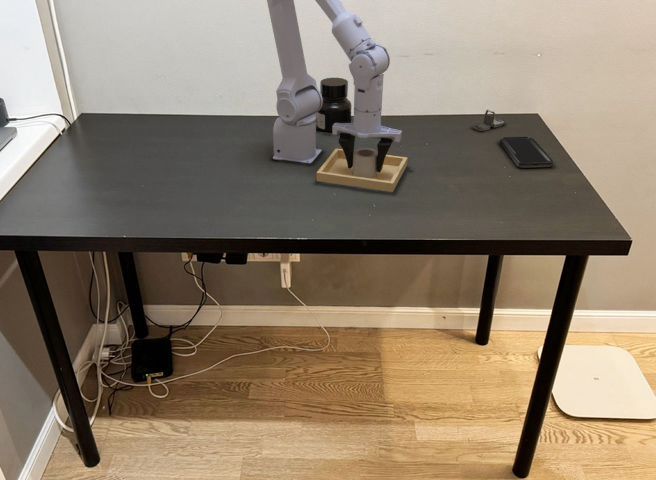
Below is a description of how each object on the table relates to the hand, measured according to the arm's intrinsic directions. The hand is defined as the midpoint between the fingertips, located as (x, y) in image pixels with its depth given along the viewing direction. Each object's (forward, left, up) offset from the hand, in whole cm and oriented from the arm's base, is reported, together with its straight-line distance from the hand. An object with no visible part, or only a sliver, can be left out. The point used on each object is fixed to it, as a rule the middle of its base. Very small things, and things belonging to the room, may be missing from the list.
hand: (365, 168), depth 141 cm
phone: (+32, +22, -2) cm, 39 cm away
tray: (0, 0, -2) cm, 2 cm away
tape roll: (0, 0, -1) cm, 1 cm away
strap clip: (+22, +38, -2) cm, 44 cm away
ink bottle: (-15, +24, -2) cm, 29 cm away
